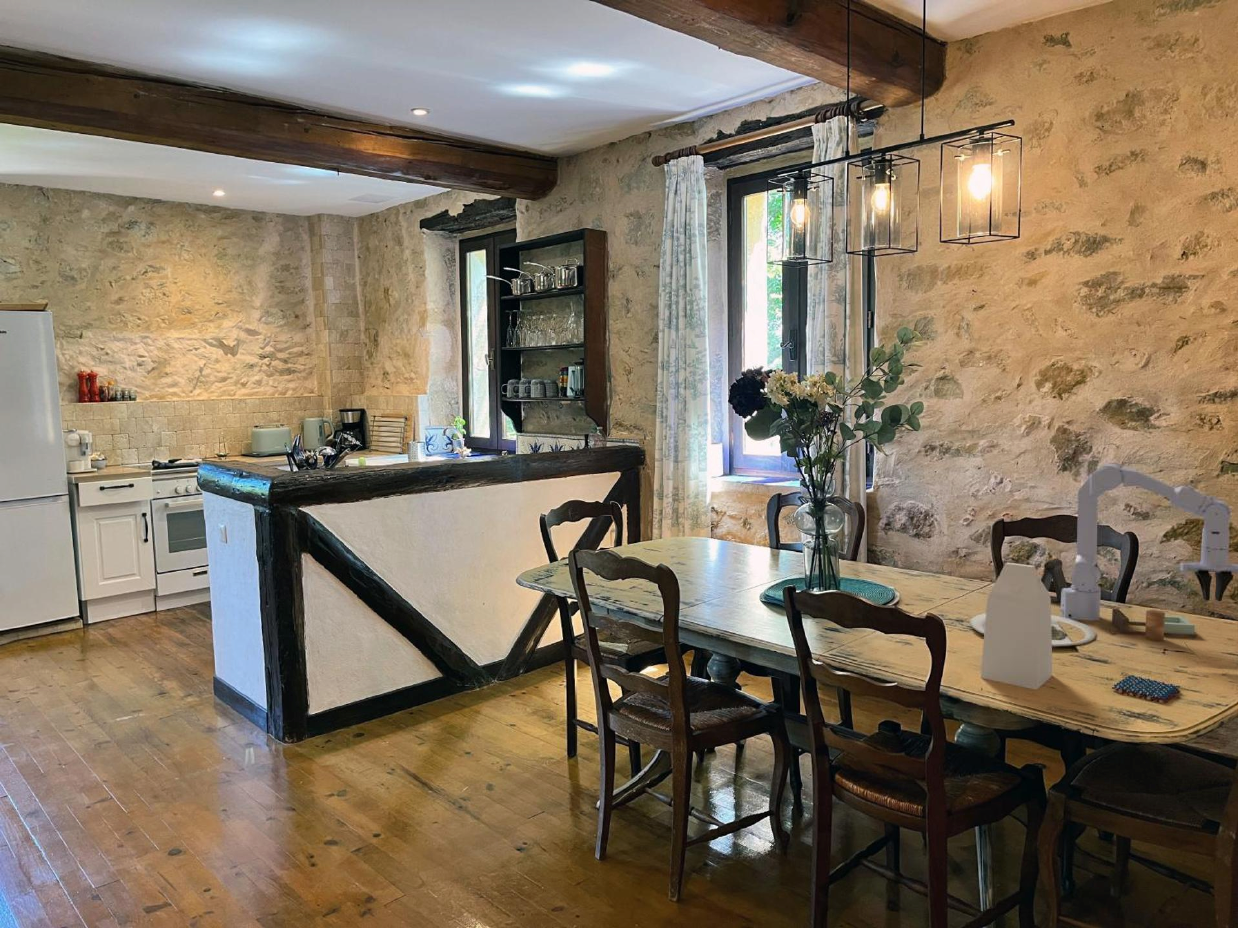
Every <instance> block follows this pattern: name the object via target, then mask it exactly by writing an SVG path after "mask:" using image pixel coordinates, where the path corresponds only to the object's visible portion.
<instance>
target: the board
mask: <svg viewBox="0 0 1238 928" xmlns="http://www.w3.org/2000/svg"><path fill="white" fill-rule="evenodd" d="M1111 610H1112V613H1111V614H1112V615H1111V616H1112V618H1111V624H1112V625H1113V626H1114V627H1115V628H1116V629H1117V630H1118V632H1120V633H1121V634H1122V635H1135V636H1137V635H1138V636H1145V631H1140V630H1139V631H1138V630H1129V629H1130V626H1129V625H1131V626H1132V625H1133V626H1146V621H1130V618H1129V617H1128V616H1126V615H1125V614H1124V613H1123V612H1122V611H1121V610H1120V609H1119V608H1112V609H1111ZM1164 637H1172V638H1173V637H1174V638H1189V639H1197V634H1195V633H1194V634H1176V633H1164Z"/></svg>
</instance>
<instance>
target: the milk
mask: <svg viewBox="0 0 1238 928" xmlns="http://www.w3.org/2000/svg"><path fill="white" fill-rule="evenodd" d="M1050 596H1051V594H1050V593H1049V591H1048V590H1047V589H1046V587H1045V586H1044V584H1043V583H1042V581H1041V578H1040V575H1039V573H1038V571H1037V569H1036V566H1035V565H1028V564H1022V563H1014V562H1005V564H1004V566H1003V567H1002V569H1001V571H1000V573H999V575H998V577H997V579H996V581H995V583H994V585H993V586H992V588H991V589H990V592H989V594H988V597H987V600H986V610H985V613H986V620H985V632H984V634H983V635H984V636H983V644H982V645H983V646H982V659H981V669H980V678H981V679H984V680H988V681H989V680H990V681H995V682H999V683H1003V684H1008V685H1013V686H1016V687H1017V686H1019V687H1023V688H1027V689H1031V690H1032V689H1033V690H1036V691H1037V690H1038V689H1039V688H1041V686H1043V684H1045V683H1046V682H1047V681H1048V680H1049V679H1050V678H1051V677H1053V647H1052V635H1051V615H1052V602H1051V598H1050Z"/></svg>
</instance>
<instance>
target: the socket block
mask: <svg viewBox="0 0 1238 928" xmlns="http://www.w3.org/2000/svg"><path fill="white" fill-rule="evenodd" d="M1164 633H1176V634H1194V635H1195V624H1194V623H1192V622H1191V621H1190V620H1189V619H1187V618H1186V617H1185V616H1182V615H1181V616H1180V615H1165V623H1164Z"/></svg>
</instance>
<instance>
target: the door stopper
mask: <svg viewBox="0 0 1238 928" xmlns="http://www.w3.org/2000/svg"><path fill="white" fill-rule="evenodd" d="M1063 565H1064V564H1063V561H1062V560H1061V559H1060V558H1058V559H1056V558H1054V559H1051V560H1049V561H1047V562H1046V563H1044V565H1043V566H1044V567H1043V568H1044V572H1043V573H1042V576H1041V577H1040V580H1041V581H1042V583H1043V584H1044V586H1045V587H1046V589H1047V590H1048V592H1049V591H1050V587H1051V584H1052V583H1053V587H1054V591H1055V595H1056V596H1055V595H1050V598H1051V603H1055V604H1060V605H1061V592H1062V589H1063V588H1069V586H1068V584H1067V579H1066V577H1065V575H1064V571H1063Z"/></svg>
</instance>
